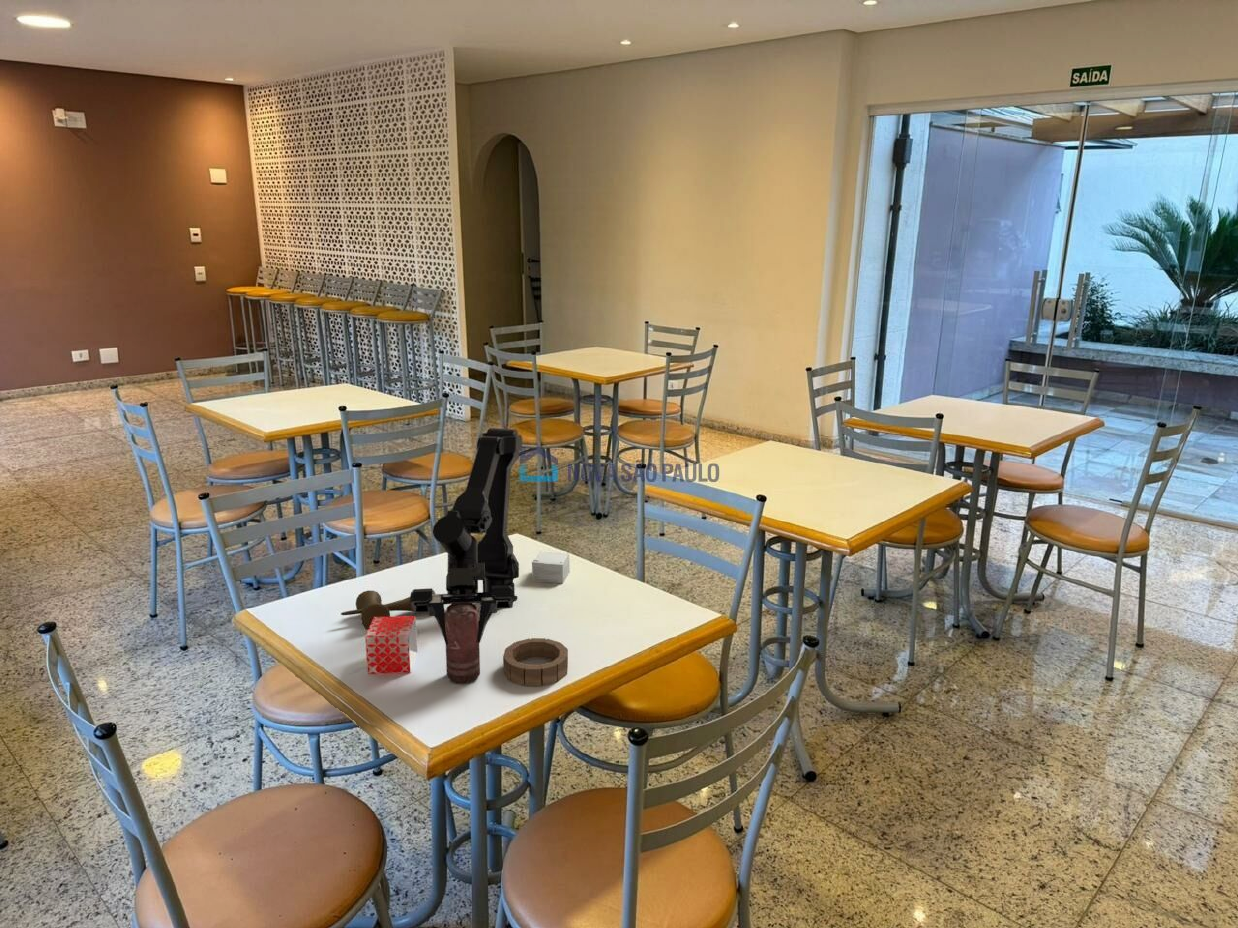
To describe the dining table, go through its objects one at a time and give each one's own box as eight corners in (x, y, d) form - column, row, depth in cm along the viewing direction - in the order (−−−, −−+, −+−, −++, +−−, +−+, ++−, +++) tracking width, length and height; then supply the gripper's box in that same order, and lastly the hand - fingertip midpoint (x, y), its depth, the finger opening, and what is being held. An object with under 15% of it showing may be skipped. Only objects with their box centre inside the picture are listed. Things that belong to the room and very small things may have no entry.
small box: (570, 572, 202) (570, 552, 201) (563, 584, 195) (563, 564, 193) (539, 569, 203) (539, 550, 202) (531, 581, 196) (531, 562, 195)
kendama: (441, 621, 176) (344, 636, 167) (430, 605, 184) (338, 618, 175) (441, 595, 174) (343, 609, 166) (430, 580, 183) (336, 592, 174)
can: (474, 686, 149) (472, 616, 145) (441, 682, 150) (439, 612, 147) (486, 670, 155) (484, 602, 151) (454, 666, 156) (452, 599, 152)
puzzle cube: (376, 653, 161) (374, 616, 158) (417, 652, 161) (415, 616, 159) (367, 674, 153) (365, 635, 151) (410, 673, 153) (408, 635, 151)
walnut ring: (491, 675, 153) (490, 658, 152) (528, 648, 163) (528, 632, 162) (544, 692, 148) (544, 675, 147) (579, 664, 158) (579, 647, 157)
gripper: (408, 548, 148) (405, 631, 141) (511, 545, 151) (514, 626, 144) (414, 572, 158) (412, 651, 150) (511, 568, 161) (513, 645, 153)
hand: (462, 643), depth 149 cm, fingers closed on can, 5 cm apart
